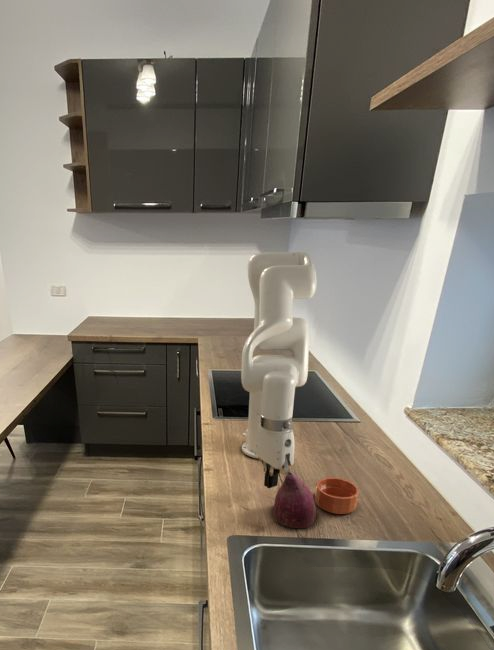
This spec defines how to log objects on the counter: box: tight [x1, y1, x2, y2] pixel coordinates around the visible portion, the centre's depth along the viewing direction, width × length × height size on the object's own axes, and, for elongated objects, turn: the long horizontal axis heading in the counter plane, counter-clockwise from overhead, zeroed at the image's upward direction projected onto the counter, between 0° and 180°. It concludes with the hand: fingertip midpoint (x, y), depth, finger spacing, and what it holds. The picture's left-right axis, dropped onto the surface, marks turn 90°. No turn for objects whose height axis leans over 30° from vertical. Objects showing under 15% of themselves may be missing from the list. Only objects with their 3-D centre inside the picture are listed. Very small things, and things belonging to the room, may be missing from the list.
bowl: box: [314, 476, 360, 515], centre depth 114 cm, size 10×10×5 cm
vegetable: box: [273, 470, 317, 529], centre depth 107 cm, size 10×10×15 cm
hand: (270, 485), depth 117 cm, fingers closed
